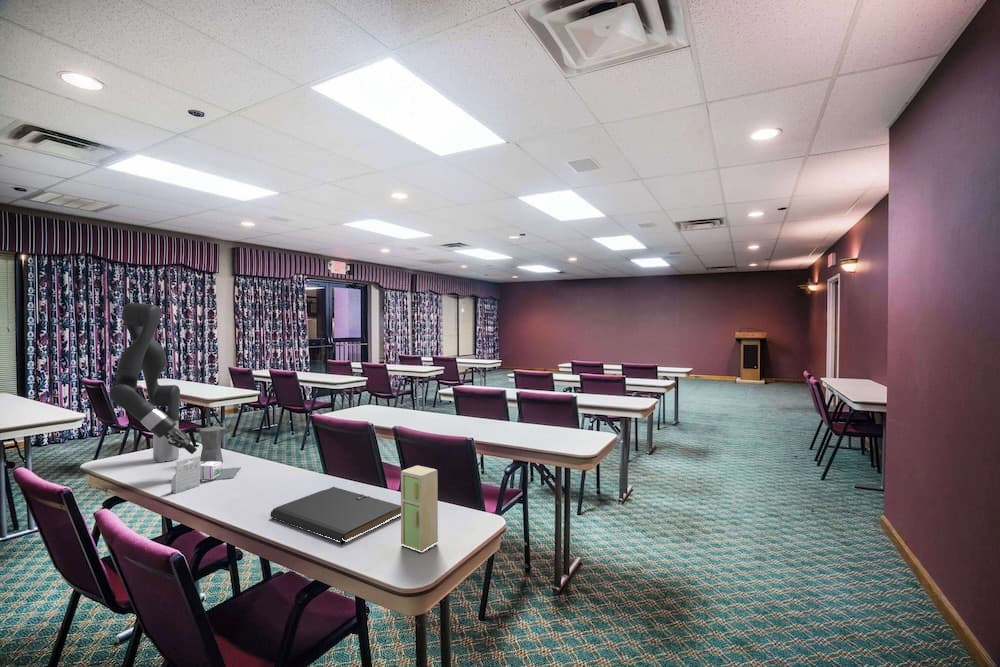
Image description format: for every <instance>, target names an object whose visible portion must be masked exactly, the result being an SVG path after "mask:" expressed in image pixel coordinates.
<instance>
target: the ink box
mask: <svg viewBox="0 0 1000 667" xmlns="http://www.w3.org/2000/svg"><path fill="white" fill-rule="evenodd" d="M200 457H201V455H198V456H195V457H191V458H187V459H183V460H178V461H176V465H177V468H176V467H175V473H174V475H173V476H172V479H171V481H170V482H171V484H170V486H171V487H170V493H172V492H173V493H172V494H177V493H182V492H184V491H186V490H190V489H193V488H195V487H196V488H197V487H199V486H200V484H201V483H200V482H201V481H200ZM187 461H193V463H189V464H184V463H185V462H187ZM198 485H199V486H198Z"/></svg>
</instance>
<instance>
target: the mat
mask: <svg viewBox="0 0 1000 667" xmlns="http://www.w3.org/2000/svg"><path fill="white" fill-rule="evenodd" d="M239 469H241V466H239V467H228V468H227V467H226V468H222V469H221V475H220V476H218V477H216V478H214V479H222V480H228V479H227V478H233V479H235V477H236V475H237V474H238V473H239V471H240V470H239ZM237 472H238V473H237ZM236 473H237V474H236ZM234 476H235V477H234ZM202 480H209V479H200V482H203V481H202Z"/></svg>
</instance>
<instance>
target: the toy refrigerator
mask: <svg viewBox="0 0 1000 667" xmlns="http://www.w3.org/2000/svg"><path fill="white" fill-rule="evenodd" d="M438 473H439V472H438V469H435V468H432V467H428V466H424V465H422V466H421V465H414V466H411V467H408V468H406V469H402V470H401V471H400V506H401V517H400V542H401V543H400V545H401V544H404V545H406V546H409V547H412V548H415V549H417V550H420V551H423V550H424V549H426V548H427V547H429V546H431V545H432V544H434V543H436V542H439V540H438V539H439V534H438V532H439V530H438V529H439V526H438V525H439V524H438V523H439V518H438V517H439V516H438V515H439V514H438V510H439V509H438V508H439V506H438V505H439V504H438V499H439V497H438V493H439V492H438V484H439V483H438V482H439V481H438V478H439V477H438Z"/></svg>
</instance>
